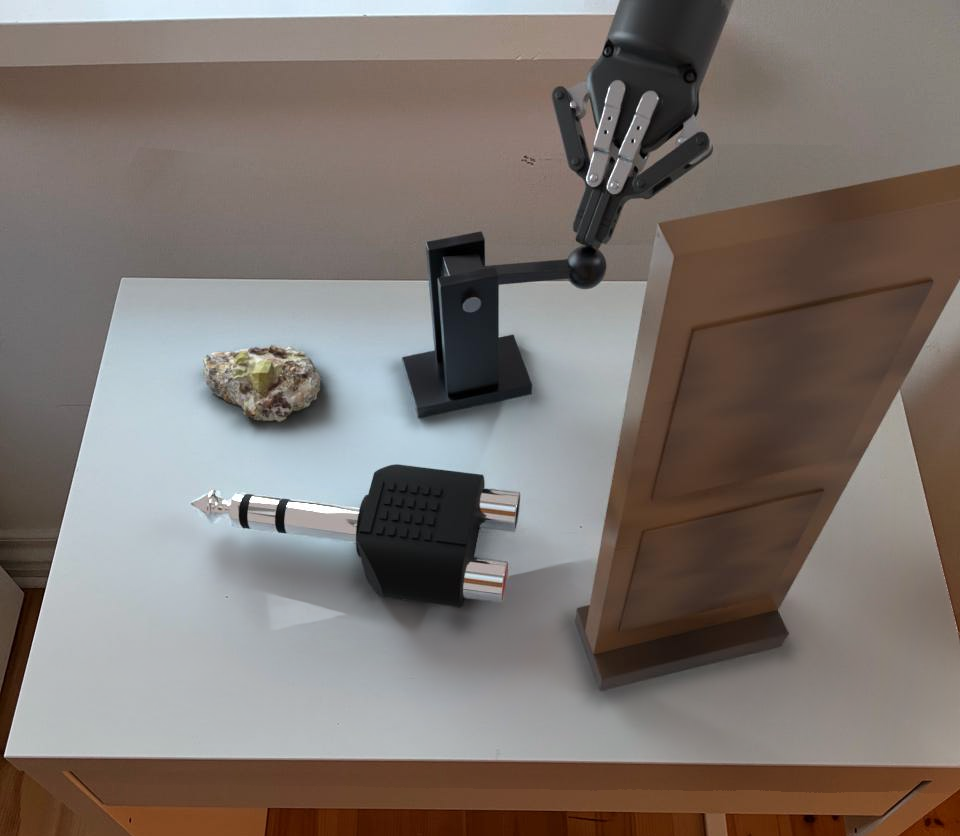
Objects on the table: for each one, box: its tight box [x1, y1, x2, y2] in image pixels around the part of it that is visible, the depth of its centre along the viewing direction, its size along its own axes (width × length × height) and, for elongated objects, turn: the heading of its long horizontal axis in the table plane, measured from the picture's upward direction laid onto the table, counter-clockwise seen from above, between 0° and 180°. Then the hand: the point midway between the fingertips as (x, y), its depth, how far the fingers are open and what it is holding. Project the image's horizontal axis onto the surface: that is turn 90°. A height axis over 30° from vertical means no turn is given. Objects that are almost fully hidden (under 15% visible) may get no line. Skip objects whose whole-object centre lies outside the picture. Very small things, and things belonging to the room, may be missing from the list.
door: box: [574, 163, 960, 692], centre depth 52 cm, size 14×6×36 cm, turn 104°
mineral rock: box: [202, 344, 322, 423], centre depth 79 cm, size 11×4×8 cm
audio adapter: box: [189, 463, 521, 609], centre depth 70 cm, size 11×5×25 cm
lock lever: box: [441, 245, 607, 290], centre depth 71 cm, size 13×3×3 cm, turn 104°
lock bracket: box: [401, 230, 533, 419], centre depth 74 cm, size 10×6×13 cm, turn 104°
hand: (586, 245), depth 71 cm, fingers closed
